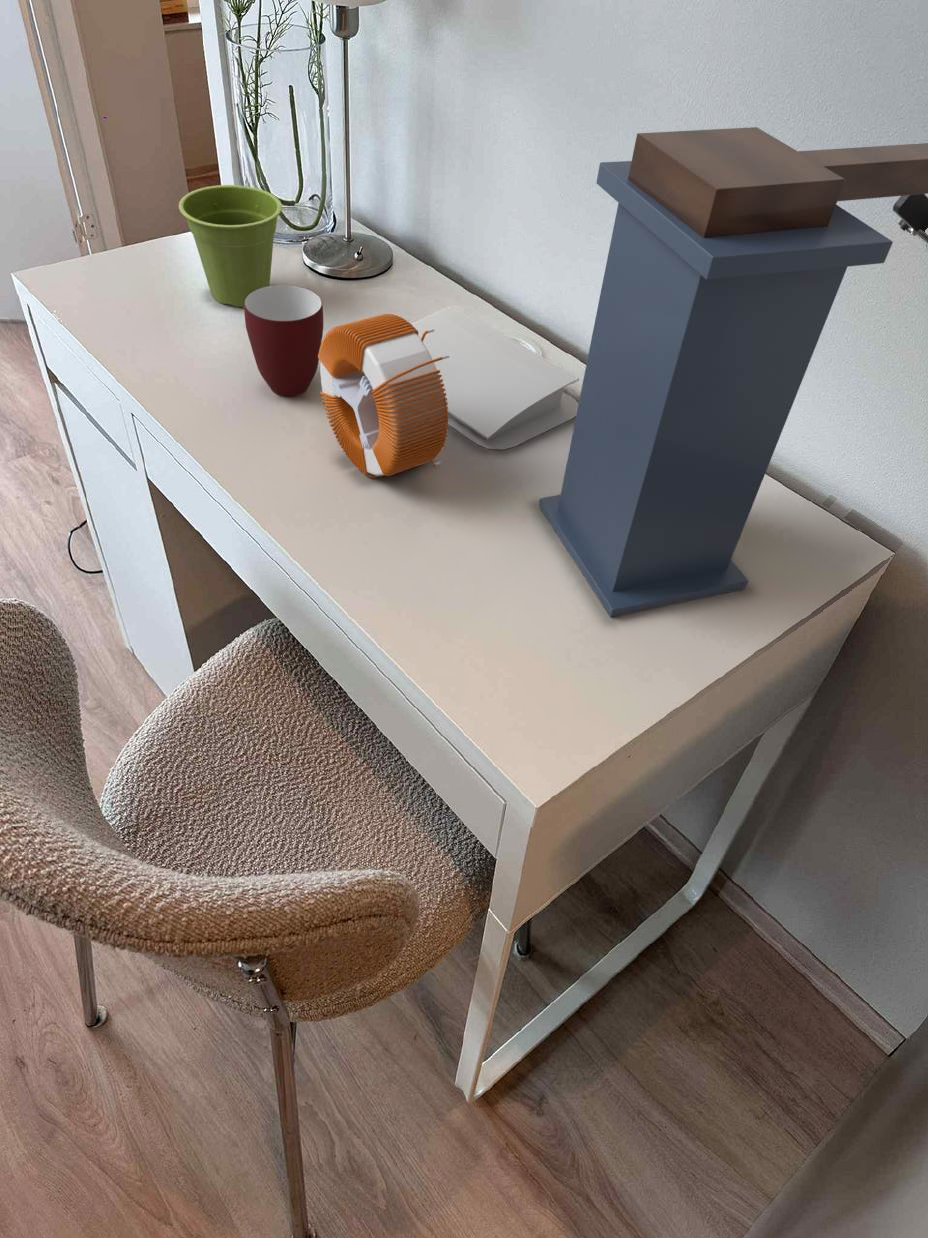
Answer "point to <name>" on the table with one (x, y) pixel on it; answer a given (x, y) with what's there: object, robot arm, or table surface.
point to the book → (494, 381)
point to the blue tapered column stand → (689, 392)
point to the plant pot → (233, 237)
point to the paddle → (766, 178)
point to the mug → (285, 336)
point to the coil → (383, 394)
